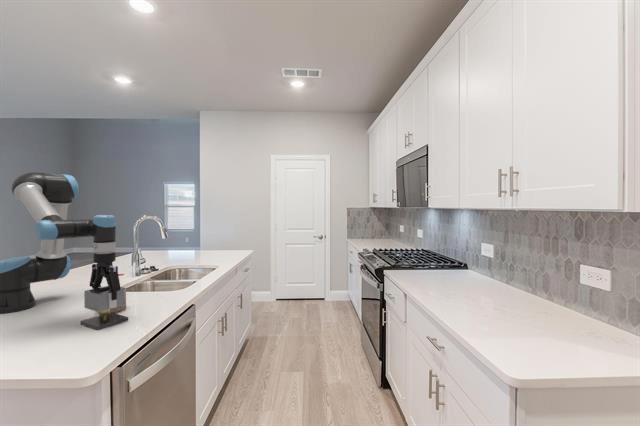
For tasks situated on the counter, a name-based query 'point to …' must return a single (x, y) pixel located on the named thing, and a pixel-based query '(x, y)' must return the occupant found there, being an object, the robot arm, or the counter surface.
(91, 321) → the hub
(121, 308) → the planter
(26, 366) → the counter surface
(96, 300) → the collar
